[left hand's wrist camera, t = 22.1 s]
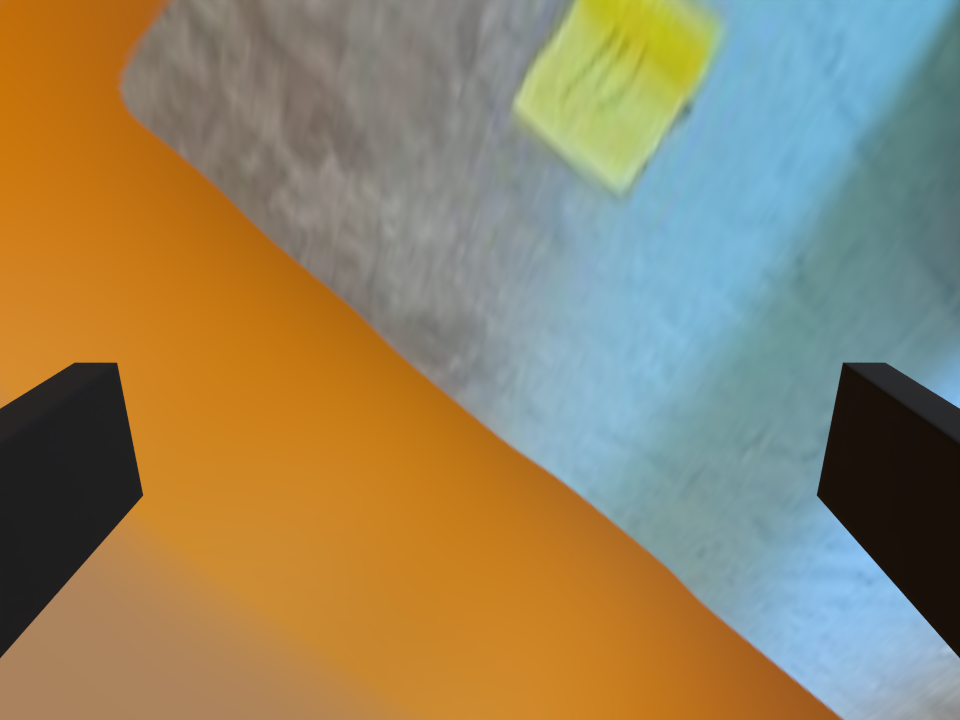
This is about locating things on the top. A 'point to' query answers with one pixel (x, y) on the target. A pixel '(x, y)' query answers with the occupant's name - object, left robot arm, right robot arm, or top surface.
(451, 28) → the top surface
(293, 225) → the top surface
